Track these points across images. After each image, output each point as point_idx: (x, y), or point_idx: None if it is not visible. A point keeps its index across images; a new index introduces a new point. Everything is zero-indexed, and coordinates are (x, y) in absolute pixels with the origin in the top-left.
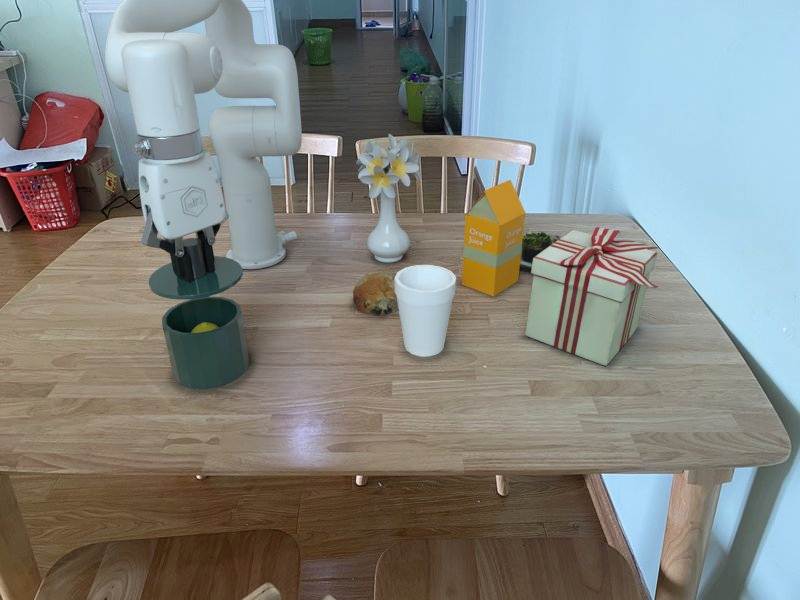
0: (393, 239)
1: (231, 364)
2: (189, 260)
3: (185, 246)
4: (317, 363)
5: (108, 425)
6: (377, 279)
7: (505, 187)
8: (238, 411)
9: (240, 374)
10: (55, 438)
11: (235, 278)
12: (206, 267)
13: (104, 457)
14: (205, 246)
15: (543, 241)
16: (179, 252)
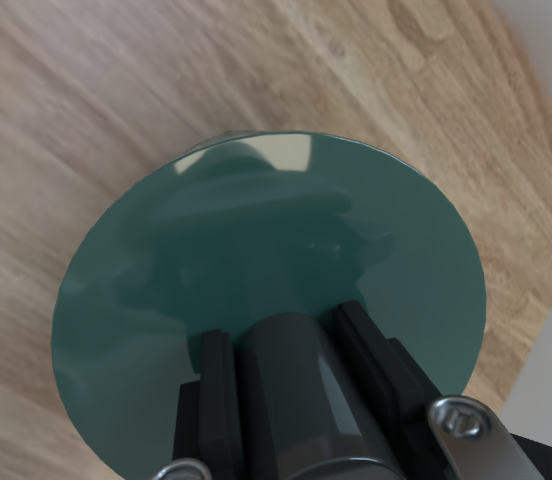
0: None
1: (237, 134)
2: (373, 373)
3: (405, 474)
4: (12, 51)
5: (470, 183)
6: None
7: None
8: (279, 27)
9: (213, 137)
10: (536, 210)
11: (153, 188)
12: (235, 365)
13: (519, 98)
14: (231, 461)
15: None
16: (470, 422)
